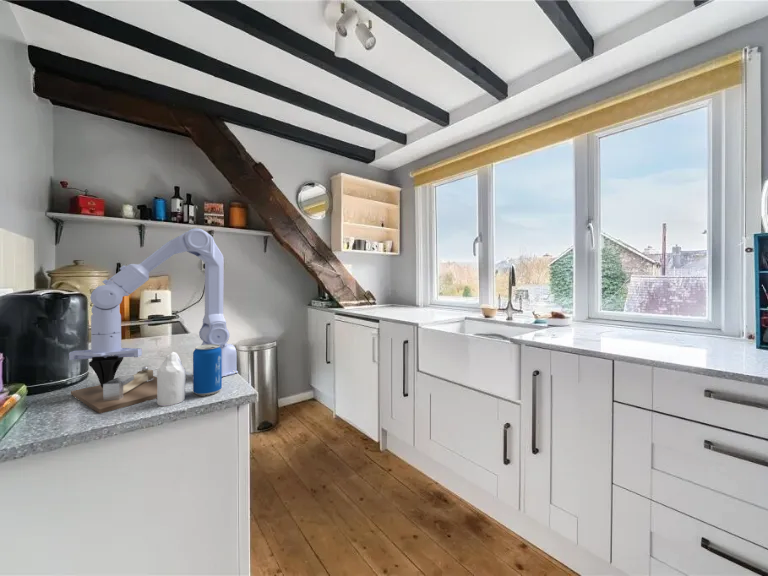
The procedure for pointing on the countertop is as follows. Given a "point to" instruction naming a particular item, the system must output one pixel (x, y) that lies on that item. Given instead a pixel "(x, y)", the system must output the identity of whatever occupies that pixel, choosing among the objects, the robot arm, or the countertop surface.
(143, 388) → the wooden cutting board
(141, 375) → the link
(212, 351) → the beverage can
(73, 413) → the countertop surface
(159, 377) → the white bottle
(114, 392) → the keeper
